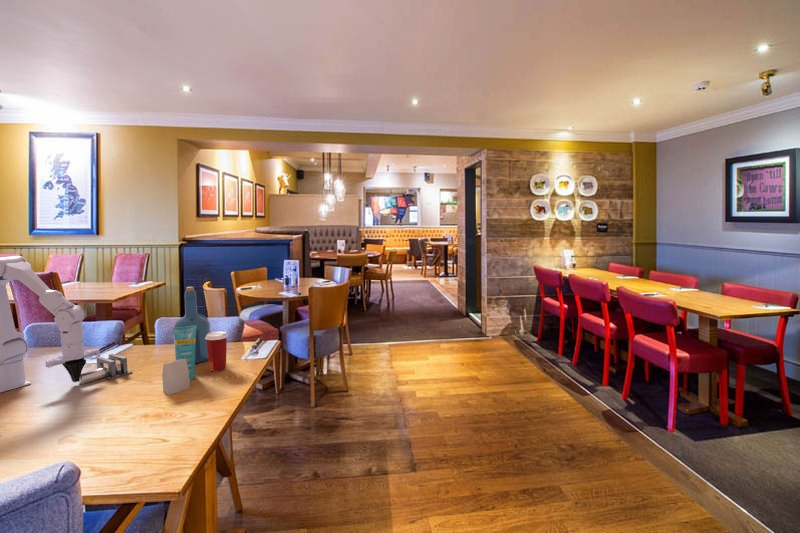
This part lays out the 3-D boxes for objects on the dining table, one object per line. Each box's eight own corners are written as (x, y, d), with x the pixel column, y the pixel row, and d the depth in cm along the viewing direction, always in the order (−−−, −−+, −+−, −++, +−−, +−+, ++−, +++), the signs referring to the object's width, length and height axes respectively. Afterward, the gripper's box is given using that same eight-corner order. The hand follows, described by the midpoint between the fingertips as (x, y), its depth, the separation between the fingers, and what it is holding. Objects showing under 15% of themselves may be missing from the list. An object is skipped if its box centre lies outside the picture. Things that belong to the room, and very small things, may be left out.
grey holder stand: (109, 380, 137) (108, 363, 137) (92, 374, 142) (91, 358, 142) (120, 376, 141) (119, 360, 140) (103, 371, 146) (102, 355, 145)
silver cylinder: (82, 386, 134) (83, 377, 133) (77, 381, 135) (78, 372, 134) (126, 372, 146) (127, 364, 145) (121, 368, 147) (122, 359, 146)
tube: (176, 382, 136) (173, 329, 134) (175, 378, 140) (172, 326, 138) (199, 378, 140) (197, 326, 138) (198, 374, 144) (195, 323, 142)
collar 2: (121, 376, 141) (120, 359, 140) (105, 371, 146) (103, 355, 145) (132, 373, 144) (131, 356, 144) (115, 368, 149) (114, 352, 148)
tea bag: (189, 388, 131) (188, 359, 130) (167, 395, 126) (166, 365, 125) (184, 385, 134) (183, 357, 133) (163, 392, 128) (161, 362, 127)
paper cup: (232, 366, 152) (231, 331, 150) (221, 373, 144) (220, 336, 143) (213, 365, 153) (212, 330, 151) (202, 372, 145) (200, 336, 144)
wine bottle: (196, 366, 151) (192, 290, 148) (167, 364, 154) (162, 289, 151) (219, 355, 165) (216, 285, 161) (192, 352, 167) (188, 283, 164)
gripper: (51, 350, 123) (55, 391, 125) (103, 338, 136) (106, 375, 138) (40, 346, 127) (44, 387, 128) (92, 335, 139) (95, 372, 141)
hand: (75, 381), depth 133 cm, fingers closed
